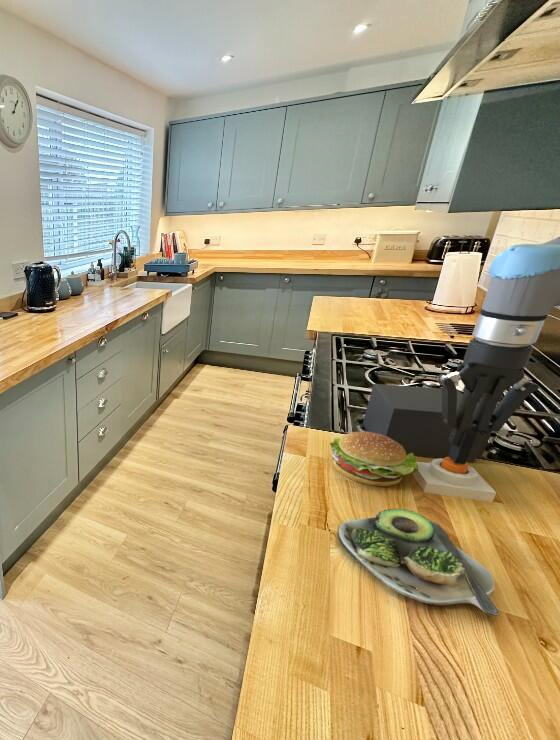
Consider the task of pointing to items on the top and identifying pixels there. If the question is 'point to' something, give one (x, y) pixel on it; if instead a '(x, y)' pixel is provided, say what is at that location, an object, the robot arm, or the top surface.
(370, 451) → the food
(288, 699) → the top surface
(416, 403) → the dark grey box
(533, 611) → the top surface
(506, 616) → the top surface
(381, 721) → the top surface
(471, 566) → the salad plate
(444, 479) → the block
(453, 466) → the button
